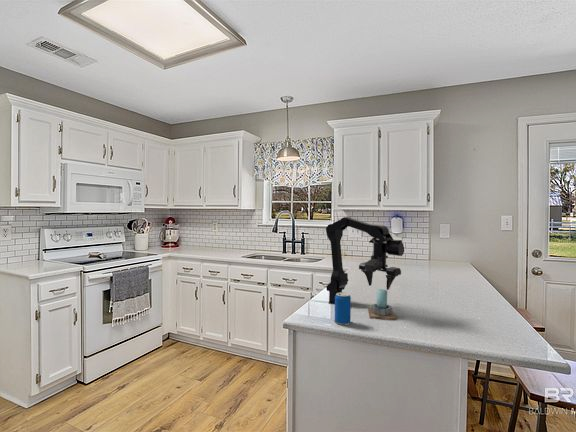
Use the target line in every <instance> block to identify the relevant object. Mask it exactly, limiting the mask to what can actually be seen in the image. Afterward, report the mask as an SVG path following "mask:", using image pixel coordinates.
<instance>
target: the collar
mask: <svg viewBox="0 0 576 432" xmlns="http://www.w3.org/2000/svg"><path fill="white" fill-rule="evenodd" d="M371 309H372V313H373V314H375V315H378V316H390V315H392V310H393V307H392V305H390V304H387V308H377V303H373V304H372V305H371Z"/></svg>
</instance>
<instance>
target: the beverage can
mask: <svg viewBox="0 0 576 432" xmlns="http://www.w3.org/2000/svg"><path fill="white" fill-rule="evenodd" d="M351 302H352V298H351V294H350V293H349V292H343V291H342V292H340V293H336V296H335V304H334V322H335V323H336V324H337V325H340V326H347V325H349V324H350V323H351V317H352V316H351V314H352V312H351V305H352V303H351Z"/></svg>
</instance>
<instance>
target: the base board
mask: <svg viewBox="0 0 576 432" xmlns="http://www.w3.org/2000/svg"><path fill="white" fill-rule="evenodd" d="M367 311H368V317H369V319H371V318H375V319H374V320H376V319H377V320H385V319H387V320H388V321H397V316H396V314H395V312H394V310H393V309H392V315H390V316H378V315H375V314H373V313H372V308H368V309H367Z"/></svg>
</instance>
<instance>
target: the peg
mask: <svg viewBox="0 0 576 432" xmlns="http://www.w3.org/2000/svg"><path fill="white" fill-rule="evenodd" d="M376 304H377V308H387V305H388V290H387V289H381V288H380V289H377V290H376Z"/></svg>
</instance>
